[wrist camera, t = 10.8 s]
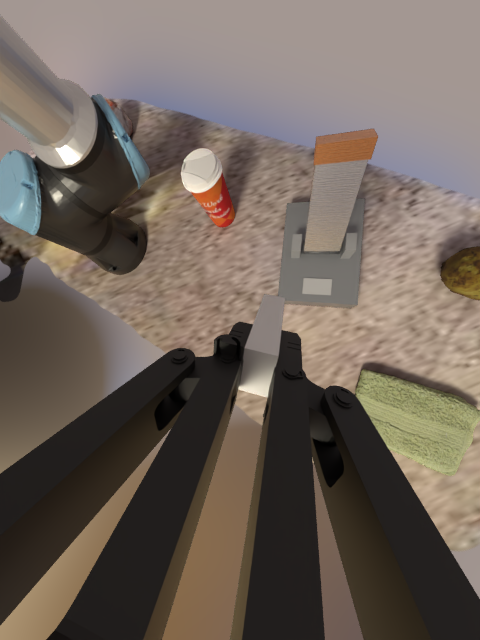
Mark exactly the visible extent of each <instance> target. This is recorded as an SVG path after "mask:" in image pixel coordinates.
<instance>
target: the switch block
mask: <svg viewBox="0 0 480 640" xmlns="http://www.w3.org/2000/svg"><path fill="white" fill-rule="evenodd" d="M309 203H310V202H298V203H287V209H286V220H285V230H284V240H283V250H282V260H281V271H280V281H279V291H278V297H283V298H285V302H284V304H291V305H306V306H321V307H336V308H352V307H354V306H357V305H358V291H359V276H360V262H361V247H362V232H363V218H364V203H365V198H362V199H356V200H355V204H354V207H353V210H352V213H351V216H350V220H349V223H348V226H347V229H346V232H345V236H344V239H343V242H342V249H341V252H340V254H302V250H303V241H304V240H305V234H306V226H307V219H308V211H309Z"/></svg>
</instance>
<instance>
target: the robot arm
mask: <svg viewBox="0 0 480 640" xmlns="http://www.w3.org/2000/svg"><path fill="white" fill-rule="evenodd" d="M0 119H1V120H3V121H4V122H5V123H7V124H8V125H10V126H11V127H12V128H14V129H15V130H17V131H18V132H20V133H21V134H22V135H24V136H25V137H27V139H28V142H29V144H30V146H31V148H32V150H33V151H34V153H35V154H36V155H37V156H36V157H35V158H32V157H30V155H28V154H27V153H24V152H21V151H19V150H13V151H12V152H8V153H7V154H6V155H5V156H4V157H3V159H2V160H1V162H0V216H1V217H2V218H3V219H4V220H5V221H7V222H8V223H10V224H12V225H14V226H16V227H18V228H20V229H23V230H25V231H27V232H28V233H30V234H32V235H36V236H39V237H41V238H44V239H46V240H49V241H51V242H54V243H56V244H59V245H61V246H64V247H66V248H69V249H71V250H74V251H76V252H79V253H81V254H83V255H86V256H87V257H88V258H90V259H91V260H92V261H93V262H95V263H96V264H97V265H98V266H100V267H101V268H102V269H104V270H105V271H108V272H110V273H113V274H117V275H123V274H126V273H129V272H131V271H132V270H134V269H135V268H136V267H137V266H138V265H139V263H140V262H141V260H142V259H143V256H144V254H145V250H146V237H145V234H144V232H143V230H142V229H141V228H140V227H139V226H138V225H137V224H136V223H134V222H133V221H131V220H129V219H127V218H124V217H121V216H118V215H115V214H112V213H111V212H112V211H113V210H114V209H116V208H117V207H118V206H119V205H120V204H122V203H123V202H124V201H125V200H126V199H128V198H129V197H130V196H131V195H132V194H134V193H135V192H136V191H137V190H139V189H140V188H141V186H142V185H143V184H144V183H145V182H146V181H147V180H148V178H149V176H150V170H149V167H148V165H147V164H146V162H145V160H144V159H143V157H142V156H141V154H140V152H139V151H138V149H137V148H136V146H135V145H134V143H133V142H132V140H131V139H130V137H129V136H128V134H127V132H126V131H125V129H124V128H123V126H122V124H121V123H120V121H119V120H118V118H117V117H116V115H115V114H114V112H113V110H112V109H111V107H110V106H109V104H108V103H107V101H106V100H105V98H104V97H103V96H102V95H100V94H97V95H93V96H92V97H91V98H90V97H89V95H88V94H87V93H86V92H85V91H84V90H83V89H82V88H81V87H80V86H79V85H78V84H76V83H74V82H72V81H69V80H65V79H59V78H57V76H56V75H55V74H54V73H53V72H52V71H51V70H50V69H49V67H48V66H47V65H46V64H45V63H44V62H43V61H42V60H41V59H40V58H39V57H38V55H37V54H36V53H35V52H34V51H33V50H32V49H31V48H30V47H29V46H28V45H27V43H26V42H25V41H24V40H23V39H22V38H21V37H20V36H19V35H18V34H17V33H16V32H15V30H14V29H13V28H12V27H11V26H10V25H9V24H8V23H7V22H6V21H5V20H4V18H3V17H2V16H1V15H0ZM284 302H285V298H283V297H278V296H273V295H267V294H264V296H263V299H262V302H261V305H260V307H259V310H258V313H257V315H256V318H255V321H254V324H248V323H243V322H238V323H236V324H235V325H234V326H233V328H232V330H231V331H230V333H229V334H226V335H221V336H218V337H217V338H216V339H215V340H214V355H213V356H209V357H195V355H194V353H193V352H192V351H191V350H189V349H186V348H178V349H174V350H172V351H170V352H168V353H167V354H165V355H164V356H163V357H161V358H160V359H158V360H157V361H155V362H154V363H153V364H151V365H150V366H149V367H147V368H146V369H144V370H143V371H142V372H140V373H139V374H137V375H136V376H135V377H133V378H132V379H131V380H130V381H128V382H127V383H125V384H124V385H122V386H121V387H119V388H118V389H117V390H115V391H114V392H113V393H112V394H110V395H108V396H107V397H106V398H104V399H103V400H102V401H100V402H99V403H97V404H96V405H95V406H93V407H92V408H90V409H89V410H88V411H86V412H85V413H84V414H82V415H81V416H79V417H78V418H77V419H75V420H74V421H73V422H71V423H70V424H68V425H67V426H66V427H64V428H63V429H61V430H60V431H59V432H57V433H56V434H54V435H53V436H52V437H50V438H49V439H48V440H46V441H45V442H44V443H42V444H41V445H39V446H38V447H37V448H35V449H34V450H32V451H31V452H30V453H28V454H27V455H25V456H24V457H23V458H21V459H20V460H19V461H17V462H16V463H14V464H13V465H12V466H10V467H9V468H8V469H6V470H5V471H3V472H2V473H1V474H0V625H1V624H2V623H3V622H4V621H5V619H6V618H7V617H8V616H9V615H10V614H11V613H12V611H13V610H14V609H15V608H16V607H17V606H18V604H19V603H20V602H21V601H22V600H23V598H25V596H26V595H27V594H28V593H29V592H30V591H31V589H32V588H33V587H34V586H35V585H36V584H37V582H38V581H39V580H40V579H41V578H42V577H43V575H44V574H45V573H46V572H47V571H48V570H49V569H50V567H51V566H52V565H53V564H54V563H55V562H56V561H57V559H58V558H59V557H60V556H61V555H62V553H63V552H64V551H65V550H66V549H67V548H68V547H69V546H70V544H71V543H72V542H73V541H74V540H75V539H76V537H77V536H78V535H79V534H80V533H81V532H82V531H83V529H84V528H85V527H86V526H87V525H88V524H89V522H90V521H91V520H92V519H93V518H94V517H95V515H96V514H97V513H98V512H99V511H100V510H101V508H102V507H103V506H104V505H105V504H106V503H107V502H108V501H109V499H110V498H111V497H112V496H113V495H114V493H115V492H116V491H117V490H118V489H119V488H120V487H121V486H122V484H123V483H124V482H125V481H126V480H127V478H128V477H129V476H130V475H131V474H132V473H133V472H134V470H135V469H136V468H137V467H138V466H139V465H140V464H141V462H142V461H143V460H144V459H145V458H146V457H147V456H148V454H149V453H150V452H151V451H152V450H153V449H154V447H155V446H156V445H157V444H158V443H159V442H160V440H161V439H162V438H163V437H164V436H165V435H166V434H167V432H168V431H169V430H170V429H171V428H172V429H171V431H170V432H169V434H168V436H167V438H166V440H165V441H164V443H163V445H162V446H161V448H160V450H159V452H158V454H157V455H156V457H155V459H154V461H153V462H152V464H151V466H150V468H149V469H148V471H147V473H146V475H145V476H144V478H143V480H142V482H141V484H140V485H139V487H138V489H137V491H136V492H135V494H134V496H133V498H132V500H131V501H130V503H129V505H128V507H127V508H126V510H125V512H124V514H123V515H122V517H121V519H120V521H119V522H118V524H117V526H116V528H115V530H114V531H113V533H112V535H111V537H110V539H109V540H108V542H107V544H106V545H105V547H104V549H103V551H102V552H101V554H100V556H99V558H98V560H97V561H96V563H95V565H94V567H93V568H92V570H91V572H90V574H89V576H88V577H87V579H86V581H85V583H84V584H83V586H82V588H81V590H80V591H79V593H78V595H77V597H76V599H75V600H74V602H73V604H72V605H71V607H70V609H69V610H68V612H67V613H66V615H65V617H64V618H63V620H62V621H61V622H60V624H59V625H58V627H57V628H56V629H55V631H54V632H53V633H52V634H51V635H50V636H49V637H48V638H47V639H46V640H162V637H163V634H164V630H165V627H166V624H167V621H168V618H169V615H170V611H171V608H172V605H173V602H174V598H175V595H176V592H177V589H178V585H179V582H180V579H181V576H182V572H183V569H184V566H185V563H186V559H187V556H188V553H189V550H190V547H191V543H192V540H193V537H194V533H195V531H196V527H197V524H198V521H199V518H200V514H201V511H202V508H203V505H204V501H205V498H206V495H207V492H208V488H209V485H210V482H211V479H212V476H213V472H214V469H215V466H216V462H217V459H218V456H219V453H220V450H221V446H222V443H223V440H224V437H225V433H226V430H227V427H228V424H229V420H230V417H231V414H232V411H233V408H234V404H235V401H236V397H237V391H238V388H239V390H242V391H246V392H249V393H253V394H256V395H260V396H264V397H268V399H267V403H266V407H265V410H264V414H263V417H264V419H263V426H262V433H261V440H260V446H259V453H258V459H257V465H256V472H255V479H254V485H253V492H252V498H251V505H250V511H249V518H248V525H247V531H246V537H245V544H244V550H243V558H242V564H241V571H240V577H239V583H238V590H237V596H236V603H235V610H234V616H233V622H232V630H231V636H230V640H325V636H324V622H323V607H322V593H321V579H320V564H319V550H318V536H317V522H316V507H315V493H314V479H313V463H312V457H313V461H314V465H315V468H316V472H317V475H318V479H319V482H320V486H321V489H322V493H323V496H324V500H325V503H326V507H327V510H328V514H329V518H330V521H331V525H332V528H333V532H334V535H335V539H336V543H337V546H338V550H339V553H340V557H341V560H342V564H343V568H344V571H345V575H346V578H347V582H348V585H349V589H350V592H351V596H352V599H353V603H354V607H355V610H356V613H357V617H358V621H359V624H360V628H361V631H362V635H363V638H364V640H480V599H479V597H478V596H477V594H476V592H475V591H474V589H473V587H472V586H471V584H470V583H469V581H468V579H467V577H466V576H465V574H464V573H463V571H462V569H461V568H460V566H459V564H458V563H457V561H456V559H455V558H454V556H453V554H452V553H451V551H450V549H449V548H448V546H447V544H446V543H445V541H444V539H443V538H442V536H441V535H440V533H439V531H438V530H437V528H436V526H435V525H434V523H433V521H432V520H431V518H430V516H429V515H428V513H427V511H426V510H425V508H424V506H423V505H422V503H421V502H420V500H419V498H418V497H417V495H416V493H415V492H414V490H413V488H412V487H411V485H410V483H409V482H408V480H407V478H406V477H405V475H404V473H403V472H402V470H401V469H400V467H399V465H398V464H397V462H396V460H395V459H394V457H393V455H392V454H391V452H390V450H389V449H388V447H387V445H386V444H385V442H384V440H383V439H382V437H381V435H380V434H379V432H378V431H377V429H376V427H375V426H374V424H373V422H372V421H371V419H370V417H369V416H368V414H367V412H366V411H365V409H364V407H363V406H362V404H361V402H360V401H359V400H358V398H357V397H356V396H355V395H354V394H353V393H352V392H350V391H349V390H347V389H345V388H343V387H340V386H329V387H328V388H326V390H325V389H323V388H321V387H319V386H317V385H316V384H314V383H312V382H311V381H310V380H308V379H307V377H306V374H305V372H304V371H303V370H302V354H301V339H300V337H299V336H298V334H297V333H292V332H288V331H283V330H282V321H283V312H284Z"/></svg>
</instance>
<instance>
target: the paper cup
mask: <svg viewBox="0 0 480 640" xmlns="http://www.w3.org/2000/svg"><path fill="white" fill-rule="evenodd" d="M181 170H182V172H181V177H182V182H183V185H184V187H185V188H186V189H187V190H188V191H190V192H191V193H192V194H193V196H194V197H195V198H196V200H197V201H198V202H199V204H200V205H201V206H202V208H203V209H204V210H205V212H206V213H207V214H208V216H209V217H210V218H211V219H212V221H213V222H214V223H215V224H216V225H217V226H219V227H226V226H228V225H230V224H231V223H232V222H233V220H234V218H235V212H234V208H233V205H232V201H231V198H230V195H229V192H228V189H227V186H226V183H225V180H224V177H223V174H222V165H221V162H220V160H219V158H218V157H217V156H216V155H215V154H214V153H213V152H212V151H210V150H209V149H205V148H201V149H197V150H194V151H192V152H191V153H190V154H189V155H188V156H187V157H186V158H185V159H184V163H183V165H182V169H181Z"/></svg>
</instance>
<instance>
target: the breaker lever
mask: <svg viewBox="0 0 480 640" xmlns="http://www.w3.org/2000/svg"><path fill="white" fill-rule="evenodd" d="M377 138H378V135H377V133H376V132H375V130H374V129H368V130H361V131H354V132H347V133H340V134H332V135H325V136H318V137H316V144H315V152H314V173H313V180H312V188H311V196H310V203H309V211H308V219H307V226H306V234H305V240H304V241H303V250H302V254H340V252H341V249H342V242H343V239H344V236H345V232H346V229H347V226H348V223H349V220H350V216H351V213H352V210H353V207H354V204H355V200H356V197H357V194H358V191H359V188H360V184H361V181H362V178H363V175H364V172H365V168H366V165H367V162H368V159H371V157H372V154H373V151H374V148H375V145H376V142H377Z"/></svg>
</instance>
